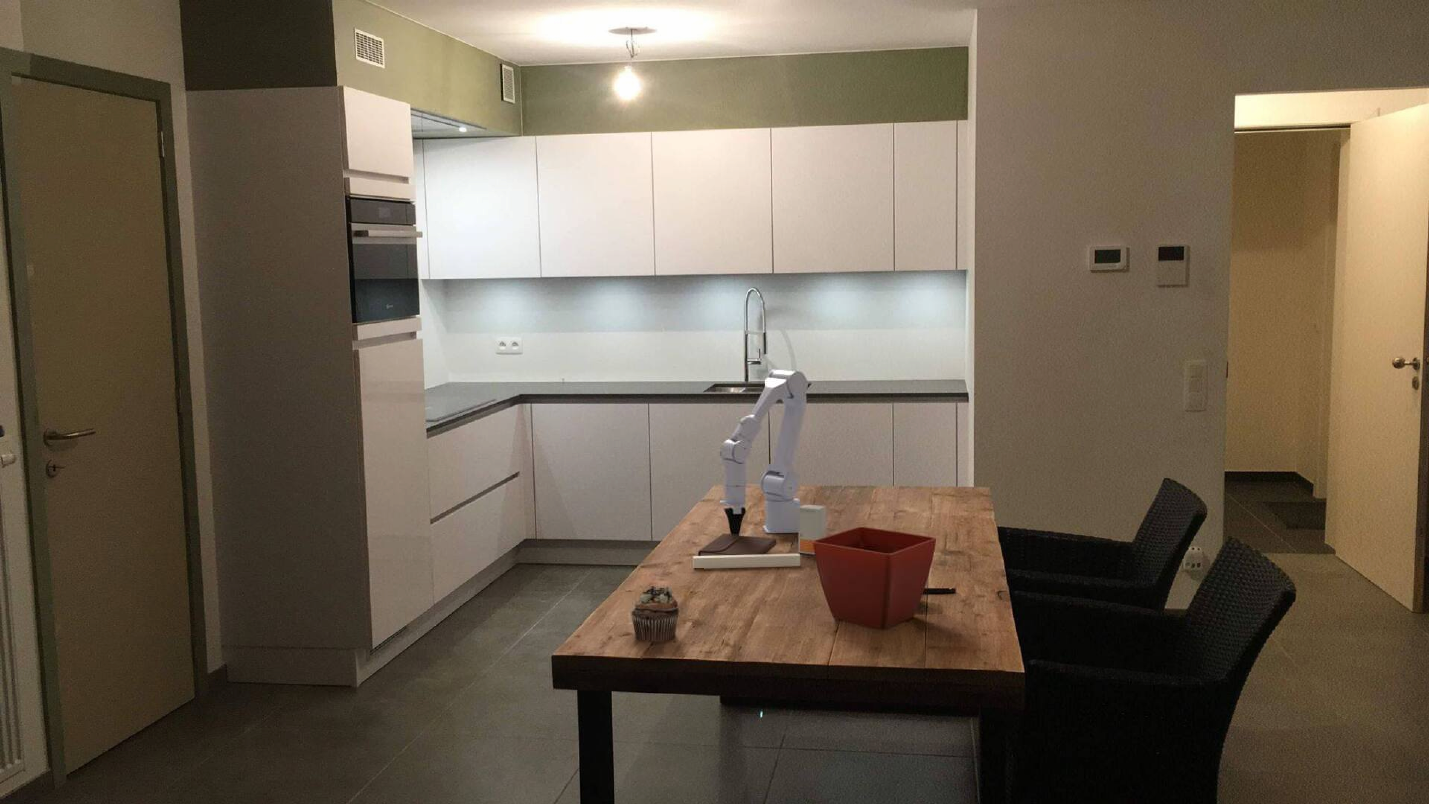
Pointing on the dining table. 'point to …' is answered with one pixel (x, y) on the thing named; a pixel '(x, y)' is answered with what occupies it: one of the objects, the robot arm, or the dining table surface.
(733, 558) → the bar
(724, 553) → the notebook
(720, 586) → the dining table surface
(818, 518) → the skincare box
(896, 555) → the plant pot
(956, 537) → the dining table surface
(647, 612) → the cupcake
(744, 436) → the robot arm
